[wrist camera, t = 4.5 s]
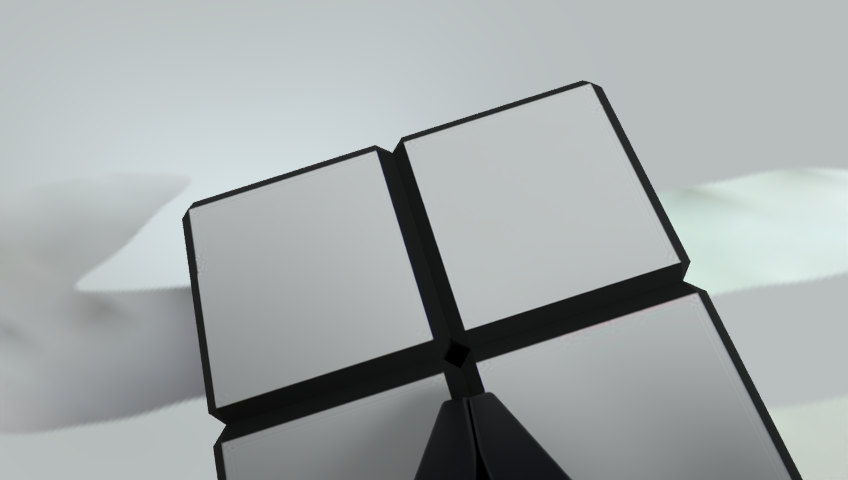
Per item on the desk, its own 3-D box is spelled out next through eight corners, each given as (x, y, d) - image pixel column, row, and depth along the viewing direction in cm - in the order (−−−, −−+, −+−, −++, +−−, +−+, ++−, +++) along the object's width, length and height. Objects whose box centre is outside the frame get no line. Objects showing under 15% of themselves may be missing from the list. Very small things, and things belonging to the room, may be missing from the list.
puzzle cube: (310, 299, 21) (170, 201, 11) (544, 225, 21) (598, 65, 11) (372, 574, 17) (245, 763, 8) (652, 484, 17) (860, 564, 8)
